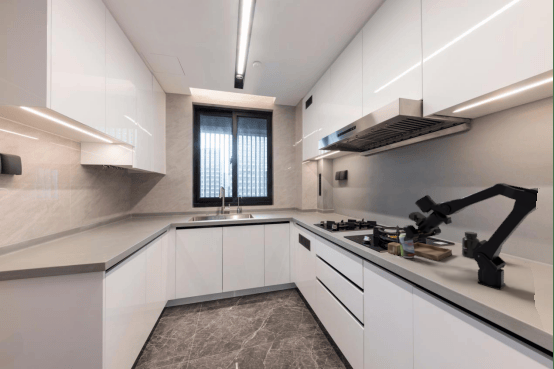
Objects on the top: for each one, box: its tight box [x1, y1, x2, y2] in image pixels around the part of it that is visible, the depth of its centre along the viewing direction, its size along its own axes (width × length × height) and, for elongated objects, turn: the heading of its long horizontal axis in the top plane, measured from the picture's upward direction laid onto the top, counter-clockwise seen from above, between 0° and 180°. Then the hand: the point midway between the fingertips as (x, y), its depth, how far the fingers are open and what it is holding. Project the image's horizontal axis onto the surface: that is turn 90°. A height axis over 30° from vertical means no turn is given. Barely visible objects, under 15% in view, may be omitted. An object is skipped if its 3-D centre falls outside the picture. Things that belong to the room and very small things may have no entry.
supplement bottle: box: [461, 231, 481, 259], centre depth 118 cm, size 7×7×12 cm
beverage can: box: [398, 232, 416, 259], centre depth 120 cm, size 6×7×12 cm
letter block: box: [387, 241, 401, 256], centre depth 126 cm, size 5×5×5 cm
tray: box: [413, 242, 453, 262], centre depth 124 cm, size 17×15×2 cm
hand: (411, 239), depth 117 cm, fingers open, 9 cm apart
